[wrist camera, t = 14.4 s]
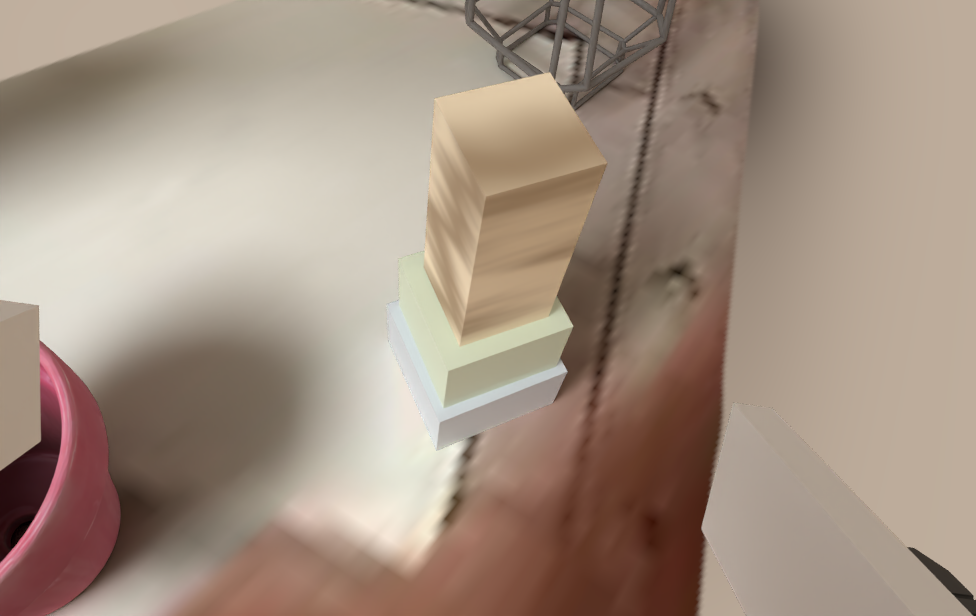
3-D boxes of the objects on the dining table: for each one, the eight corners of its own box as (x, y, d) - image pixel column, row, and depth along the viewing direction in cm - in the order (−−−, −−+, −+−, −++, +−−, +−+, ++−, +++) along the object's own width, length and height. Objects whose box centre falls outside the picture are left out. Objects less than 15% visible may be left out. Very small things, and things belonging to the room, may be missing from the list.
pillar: (423, 267, 38) (434, 98, 28) (508, 241, 39) (550, 72, 29) (459, 346, 36) (486, 196, 26) (548, 316, 37) (607, 162, 27)
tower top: (398, 304, 43) (398, 258, 38) (506, 270, 44) (517, 222, 40) (443, 408, 40) (448, 371, 35) (555, 366, 42) (573, 326, 37)
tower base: (388, 342, 47) (386, 303, 43) (499, 302, 49) (507, 262, 45) (436, 451, 44) (439, 422, 39) (552, 404, 46) (567, 371, 41)
